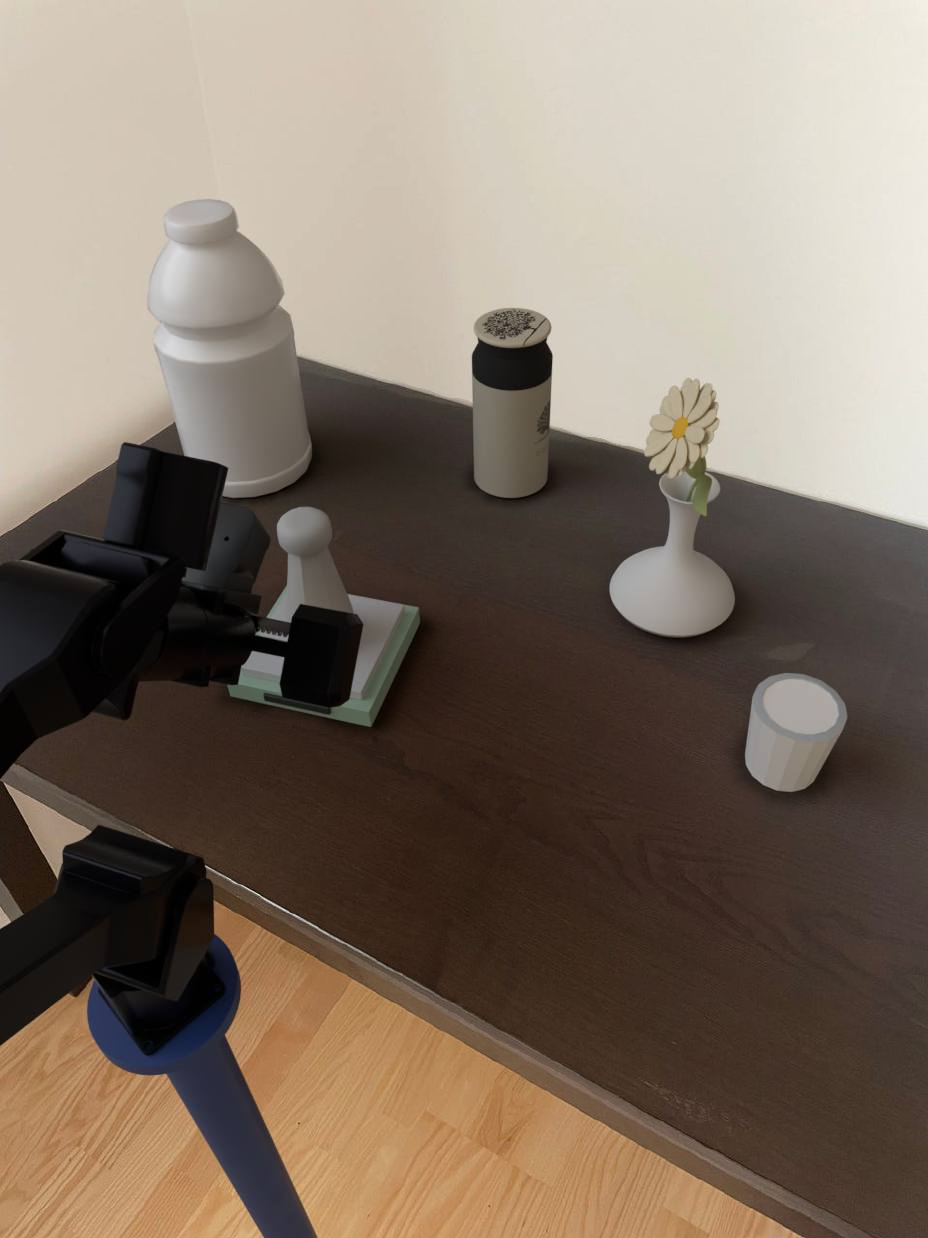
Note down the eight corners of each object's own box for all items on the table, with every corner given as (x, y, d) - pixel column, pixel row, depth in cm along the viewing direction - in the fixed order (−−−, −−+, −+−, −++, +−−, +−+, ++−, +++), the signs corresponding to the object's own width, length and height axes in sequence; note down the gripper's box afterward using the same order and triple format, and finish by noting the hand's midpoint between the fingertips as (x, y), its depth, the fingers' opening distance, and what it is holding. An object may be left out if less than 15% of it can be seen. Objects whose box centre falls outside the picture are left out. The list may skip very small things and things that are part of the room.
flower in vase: (613, 559, 96) (640, 323, 78) (732, 572, 94) (785, 334, 76) (600, 652, 87) (626, 409, 69) (730, 670, 85) (791, 424, 67)
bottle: (268, 415, 116) (223, 172, 97) (338, 463, 109) (304, 209, 89) (164, 463, 109) (93, 211, 90) (231, 517, 102) (170, 256, 82)
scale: (370, 730, 81) (366, 706, 79) (228, 699, 84) (221, 675, 81) (420, 622, 90) (418, 598, 88) (291, 597, 93) (286, 574, 91)
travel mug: (459, 484, 105) (454, 330, 93) (500, 449, 110) (500, 298, 97) (522, 509, 102) (525, 353, 89) (560, 472, 106) (569, 318, 94)
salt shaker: (368, 624, 85) (353, 506, 76) (335, 668, 82) (315, 549, 73) (312, 606, 87) (290, 488, 78) (277, 647, 84) (250, 529, 75)
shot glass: (828, 741, 79) (850, 683, 74) (822, 808, 74) (845, 751, 69) (742, 721, 80) (758, 663, 76) (731, 785, 76) (747, 728, 71)
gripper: (335, 524, 56) (409, 552, 71) (53, 475, 60) (180, 513, 75) (300, 715, 56) (381, 703, 71) (20, 654, 60) (153, 655, 75)
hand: (271, 638), depth 73 cm, fingers open, 9 cm apart
